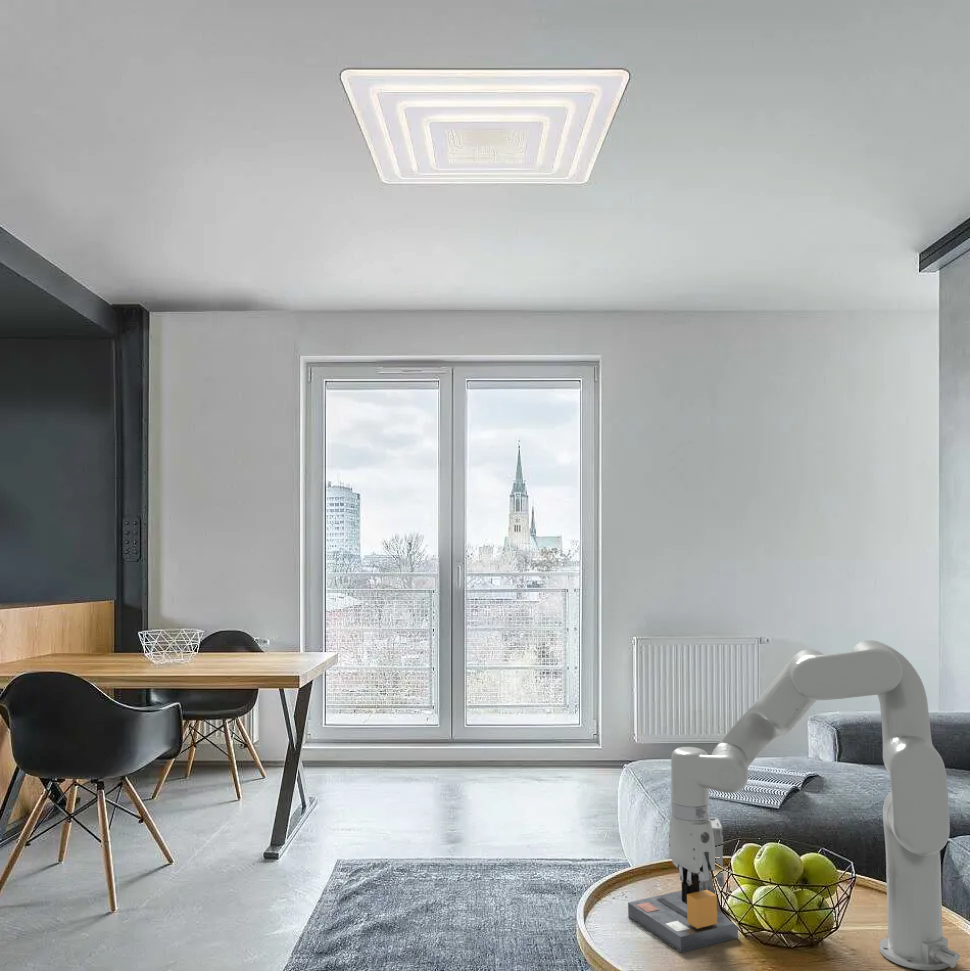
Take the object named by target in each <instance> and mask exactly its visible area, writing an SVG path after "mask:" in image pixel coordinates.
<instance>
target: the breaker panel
mask: <svg viewBox="0 0 970 971" xmlns="http://www.w3.org/2000/svg"><path fill="white" fill-rule="evenodd" d="M627 910H628V912H627V913H628V914H627V915H628V917H627V918H629V917H630V918H629V919H631V920H632V919H633V920H634V922H635V923H636V922H637V923H636V924H638V925H639V924H640V925H639V926H641V927H642V928H644V929H645V930H646V931H649V933H651V934H653V935H654V936H655V937H656V938H659V939H660V940H661V941H662V942H665V944H667V945H669V946H670V947H672V948H673V949H675V950H676V951H677V952H678V953H681V954H682V953H685V952H689V951H693V950H697V949H701V948H705V947H708V946H709V947H710V946H712V945H716V944H721V943H724V942H727V941H728V942H729V941H732V940H735V939H738V938H739V926H738V927H737V926H736V925H735V924H734V923H733V922H732V921H730V920H729V919H728V918H727V917H728V916H727V915H726V914H723V913H722V912H720V911H718V910H717V924H714V925H710V926H706V927H702V928H698V929H697V928H695V927H693V926H692V925H690V924H689V923H687V904H685V903H684V902H682V890H678V891H673V892H670V893H665V894H661V895H656V896H651V897H647V898H642V899H638V900H634V901H630V902H629V901H628V902H627ZM726 916H727V917H726ZM633 920H632V921H633Z"/></svg>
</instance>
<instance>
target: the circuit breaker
mask: <svg viewBox="0 0 970 971" xmlns="http://www.w3.org/2000/svg"><path fill="white" fill-rule="evenodd" d="M709 821H711V824H712V829H713V835H714V845H719V844H723V845H720V846H717V847H715V857H720V858H716V860H715V861H716V862H717V863H718V864H720V865H721V866H722V867H723V868H724V856H723V855H724V854H723V849H724V835H723V826H722V824H721V822H720V820H719V817H718V816H709ZM708 872H709V880H708V881H701V883H700V884H699V891H703V890H709V891H710V892H712V893H714V894H715V890H714V886H713V881H712V876H711V873H710V871H709V870H708ZM716 878H717V881H718V884H719V886H720V887H722V886H723V884H724V885H725V881H724V880H725V879H724V878H725V876H724V872H723V873H720V874H717V876H716Z"/></svg>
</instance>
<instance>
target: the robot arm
mask: <svg viewBox="0 0 970 971" xmlns="http://www.w3.org/2000/svg"><path fill="white" fill-rule="evenodd" d="M869 696H870V697H871V696H877V698H878V701H879V708H880V709H879V710H880V717H881V718H880V720H881V731H882V732H881V733H882V760H883V761H882V762H883V764H884V767H885V769H886V770H887V772H888V774H889V777H890V780H889V781H890V791H889V792H888V794H887V795H886V797H885V798H884V802H883V807H882V821H883V823H882V824H883V832H884V843H885V863H886V864H885V866H886V868H885V872H886V904H887V905H886V909H887V910H886V911H887V912H886V913H887V915H886V916H887V936H886V937H884V938H883V939H881V940H880V941H879V951H880V953H881V954H882V956H883V957H885V958H886V960H888V961H889V962H890V961H891V962H892V963H894V964H897V965H899V966H902V967H905V968H909V969H912V970H919V971H940V970H945V969H947V968H949V967H950V968H951V969H954V968H956V966H957V964H958V961H959V959H960V953H959V952H956V951H954V950H952V949H949V940H948V938H947V937H944V936H943V935H944V934H943V933H944V932H943V908H942V907H943V906H942V905H943V904H942V902H943V901H942V864H941V850H943V849H944V847H945V846H946V845H947V842H948V840H949V838H950V832H951V831H950V828H951V826H950V824H951V823H950V822H951V821H950V805H949V790H948V777H947V771H946V770H947V769H946V768H945V763H944V760H943V758H942V756H941V755H940V753H939V751H937V749H936V748H935V746H934V745H933V741H932V733H931V730H932V729H931V721H930V713H929V703H928V698H927V697H928V696H927V692H926V690H925V686H924V684H923V681H922V678H921V677H920V675H919V673H918V671H917V670H916V669H915V667H914V666H913V665H912V663H911V662H910V661H909V660H908V659H907V658H906V657H905V656H904V655H903V653H901V652H899V651H898V650H897V649H895V648H893V647H891V646H889V645H887V644H885V643H883V642H880V641H877V640H870V639H869V640H867V639H866V640H862V641H860V642H858V643H856V644H855V645H854V646H852V648H851V650H850V651H847V652H839V653H830V654H824V653H823V652H821V651H818V650H815V649H809V648H807V649H802V650H800V651H799V652H797V653H796V654H795V655H794V656H793V657H791V659H790V660H789V661H788V663H786V665H785V666H784V667H783V668H782V669H781V671H780V672H779V673H778V674H777V676H776V677H775V678H774V679H773V680H772V681H771V683H770V684H769V685H768V686H767V688H765V690H764V691H763V692H762V694H760V696H759V697H758V698H757V700H756V701H755V702H754V703H753V704H751V706H750V707H749V708H748V709H747V711H746V712H745V713H743V715H742V716H741V717H740V718H739V719H738V720H737V721H736V722H735V724H733V725H732V727H731V728H730V729H729V731H727V733H726V734H725V735H724V736H723V738H722V739H721V740H720V741H719V743H717V745H716V746H715V747H714V749H713V750H712V753H711V754H708V753H707V751H706V750H704V749H703V748H702V749H701V748H699V747H695V746H682V747H677V748H676V749H674V750H673V751H672V753H671V756H670V757H671V758H670V759H671V760H670V773H671V776H670V779H671V780H670V781H671V784H670V785H671V787H670V788H671V789H670V790H671V791H670V792H671V799H670V800H671V801H670V802H671V807H670V808H671V813H670V814H671V815H670V821H669V828H668V829H669V830H668V854H669V858H670V860H671V862H672V864H673V865H674V866H675V867H676V868H677V870H678V873H679V880H680V881H681V891H682V902H684V903H685V904H687V894H690V893H694V892H699V884H700V883H701V881H708V880H709V872H708V870H709V871H714V870H715V845H714V835H713V829H712V824H711V821H709V817H710V790H713V791H716V792H721V793H727V794H733V793H738V792H741V790H743V789H744V788H745V787H746V785H747V784H748V780H749V766H750V765H751V764H752V763H753V762H754V761H755V759H756V758H757V757H758V756H759V754H761V752H763V750H764V749H765V748H766V747H767V746H768V745H769V744H770V743H771V742H773V741H774V740H776V739H777V738H780V737H782V736H786V735H788V734H789V733H790V732H791V731H792V730H793V729H794V728H795V727H796V726H797V724H798V723H799V722H800V721H801V719H802V718H803V716H804V715H805V714H806V713H807V712H808V711H809V710H810V708H811V707H812V706H813V705H814V704H815V703H816V702H817V701H829V700H831V701H833V700H842V699H844V700H845V699H851V698H860V697H869Z"/></svg>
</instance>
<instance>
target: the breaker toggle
mask: <svg viewBox="0 0 970 971" xmlns="http://www.w3.org/2000/svg"><path fill="white" fill-rule="evenodd" d="M717 895H718V894H717ZM717 895H716V894H714V893H712V892H710V891H709V890H703V891H699V892H694V893H690V894H687V923H689V924H690V925H692V926H693V927H695V928H697V929H698V928H702V927H706V926H710V925H714V924H717V911H718V899H717V898H718V897H717Z"/></svg>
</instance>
